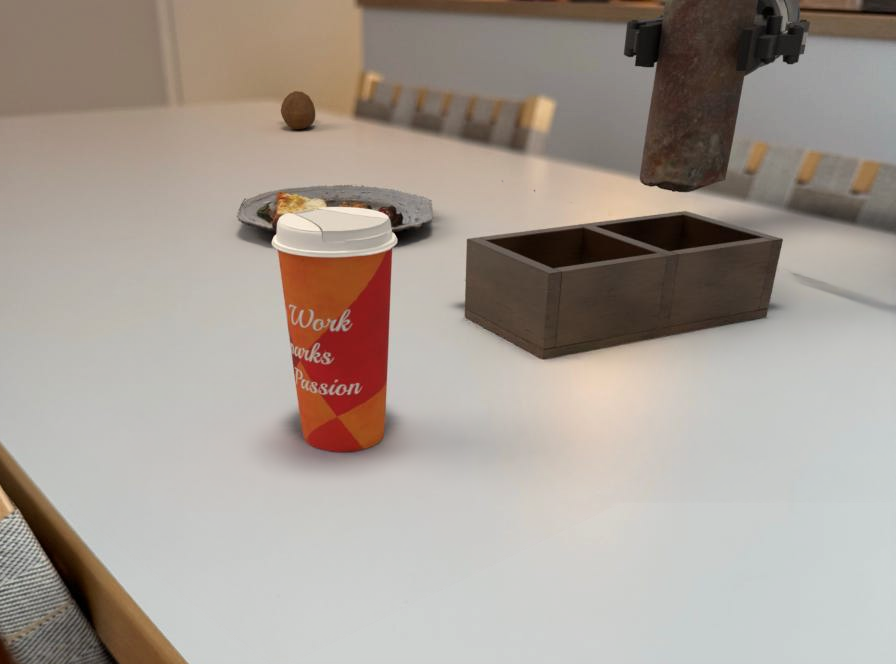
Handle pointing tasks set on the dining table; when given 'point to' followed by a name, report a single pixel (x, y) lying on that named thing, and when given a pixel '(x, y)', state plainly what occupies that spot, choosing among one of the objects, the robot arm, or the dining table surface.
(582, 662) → the dining table surface
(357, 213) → the paper cup
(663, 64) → the candle
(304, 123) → the potato
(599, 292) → the brown wooden divided box
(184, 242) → the dining table surface
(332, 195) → the food plate
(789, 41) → the robot arm
